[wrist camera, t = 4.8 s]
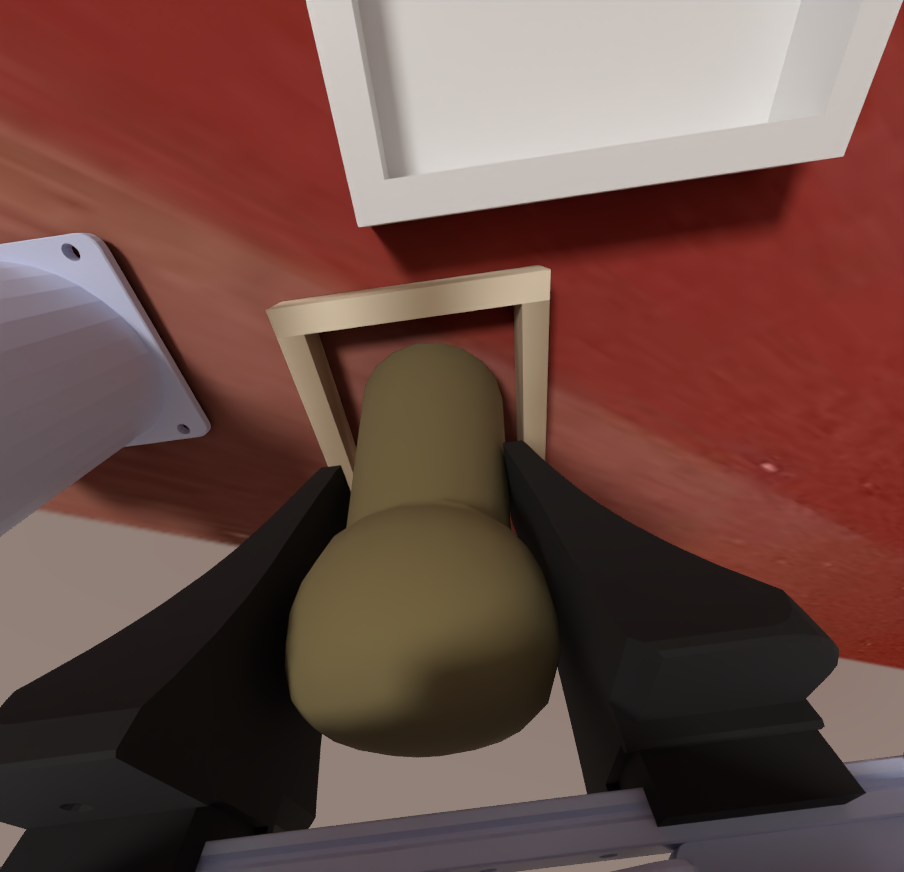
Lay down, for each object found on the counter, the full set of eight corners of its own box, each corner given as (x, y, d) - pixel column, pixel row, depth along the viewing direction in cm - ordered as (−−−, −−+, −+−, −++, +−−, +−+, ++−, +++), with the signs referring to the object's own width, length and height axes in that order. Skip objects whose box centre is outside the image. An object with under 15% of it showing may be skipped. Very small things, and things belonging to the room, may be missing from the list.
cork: (509, 455, 16) (607, 774, 7) (386, 477, 17) (318, 804, 7) (493, 327, 13) (633, 600, 4) (340, 359, 13) (114, 674, 4)
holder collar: (352, 494, 18) (347, 514, 17) (281, 301, 13) (265, 310, 12) (536, 470, 18) (544, 488, 17) (538, 265, 13) (550, 269, 12)
